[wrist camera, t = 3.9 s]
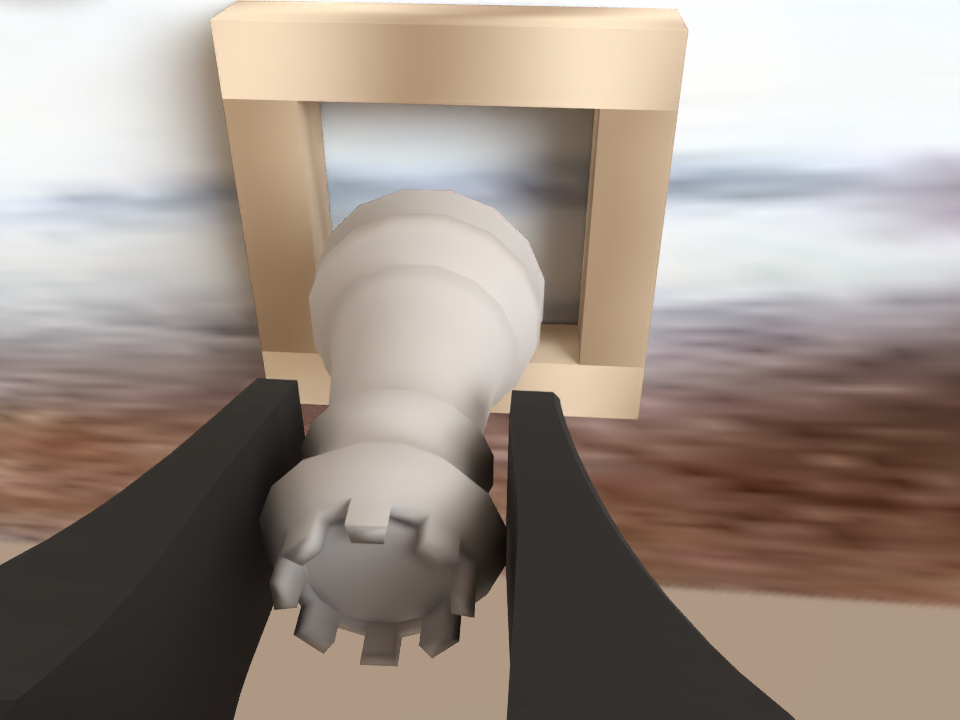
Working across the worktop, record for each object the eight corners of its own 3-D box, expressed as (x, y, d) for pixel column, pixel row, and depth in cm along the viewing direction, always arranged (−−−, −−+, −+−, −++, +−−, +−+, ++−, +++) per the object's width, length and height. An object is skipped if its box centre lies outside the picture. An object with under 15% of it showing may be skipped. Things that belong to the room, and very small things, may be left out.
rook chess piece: (407, 409, 19) (342, 748, 12) (272, 252, 17) (110, 554, 11) (587, 315, 18) (623, 643, 11) (462, 131, 16) (413, 395, 9)
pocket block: (677, 9, 18) (688, 30, 16) (632, 377, 23) (637, 419, 21) (238, -1, 18) (210, 19, 17) (288, 361, 23) (269, 402, 22)
